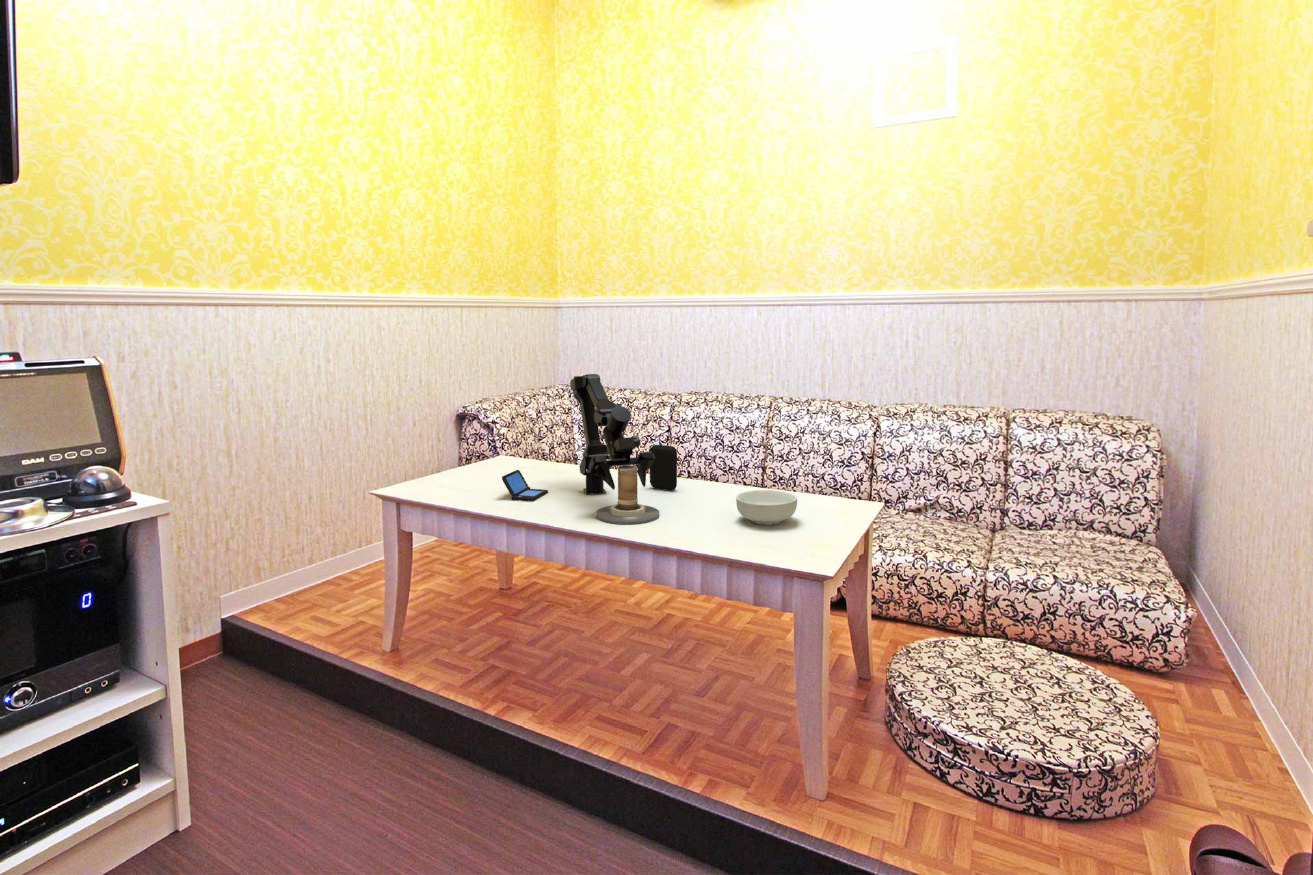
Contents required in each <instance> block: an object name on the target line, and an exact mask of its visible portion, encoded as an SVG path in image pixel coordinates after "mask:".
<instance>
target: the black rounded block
mask: <svg viewBox="0 0 1313 875" xmlns="http://www.w3.org/2000/svg"><path fill="white" fill-rule="evenodd" d="M648 452H652V453H653V454H654V457H655V460H654V462H653V464H652V466H651V468H650V469H649V484H650V486H651V487H652V488H653V489H655V490H662V489H663V490H665V491H670V492H672V491H674V490H676V489H677V487H678V486H677V485H678V451H677V448H676V447H675V446H672V445H663V444H654V445H652V446H651V447H649V450H648ZM663 490H662V491H663Z"/></svg>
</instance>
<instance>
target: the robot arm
mask: <svg viewBox="0 0 1313 875" xmlns="http://www.w3.org/2000/svg"><path fill="white" fill-rule="evenodd" d="M569 386H570V390H571V391H572V395H573V398H574V399H575V400H576V402H577V403H579V406H580V407H579V408H580V415H581V420H582V421H581V422H582V427H583V432H584V440H585V448H584V451H582V458H581V461H580V464H579V473H580V474H581V475H583V476H585V487H584V488H583V492H584V493H585V494H586V495H599V494H600V495H601V494H607V490H605V488H604V484H605V483H606V484H607V485H608V486H609V487H610V488H611V489H612V490H613V491H614V490H615V488H616V486H615V481H614V479H613V476H612V473H611V467H616V466H617V467H620V466H636V467H637V476H638V477H639V480H640V483H641V485H642V487H643V488H644V487H646V483H647V482H646V481H647V471H648V470H650V468H651V466H652V464H653V462H654V460H655V457H654V454H653V453H652V452H649V451H642V452H641V451H640V452H639V454H638V455H637V456H636V457H632V456H633V454H634V451H633V450H635V449H636V448H639V447H640V446H641V444H642V443H641V440H640V436H639V434H634V435H632V436H631V437H630V436H629V437H625V436H624V432H625V431H626V430H627V427H628V425H629V422H630V420H631V417H632V412H631V411H630V410H629V409H628V408H627V407H625V406H622V403H616V402H613V401H612V400H610V398H609V397H608V395H607V393H606V390H605V388H604V386H603V385H602V383H601V376H600V374H597V373H589V374H587V373H586V374H584V375H574V376H573V378H572V379H571V380H570V382H569ZM599 427H603V429H602V440H604V442H605V444H604V443H602V441H601V437H600V430H599ZM604 482H605V483H604Z"/></svg>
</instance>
